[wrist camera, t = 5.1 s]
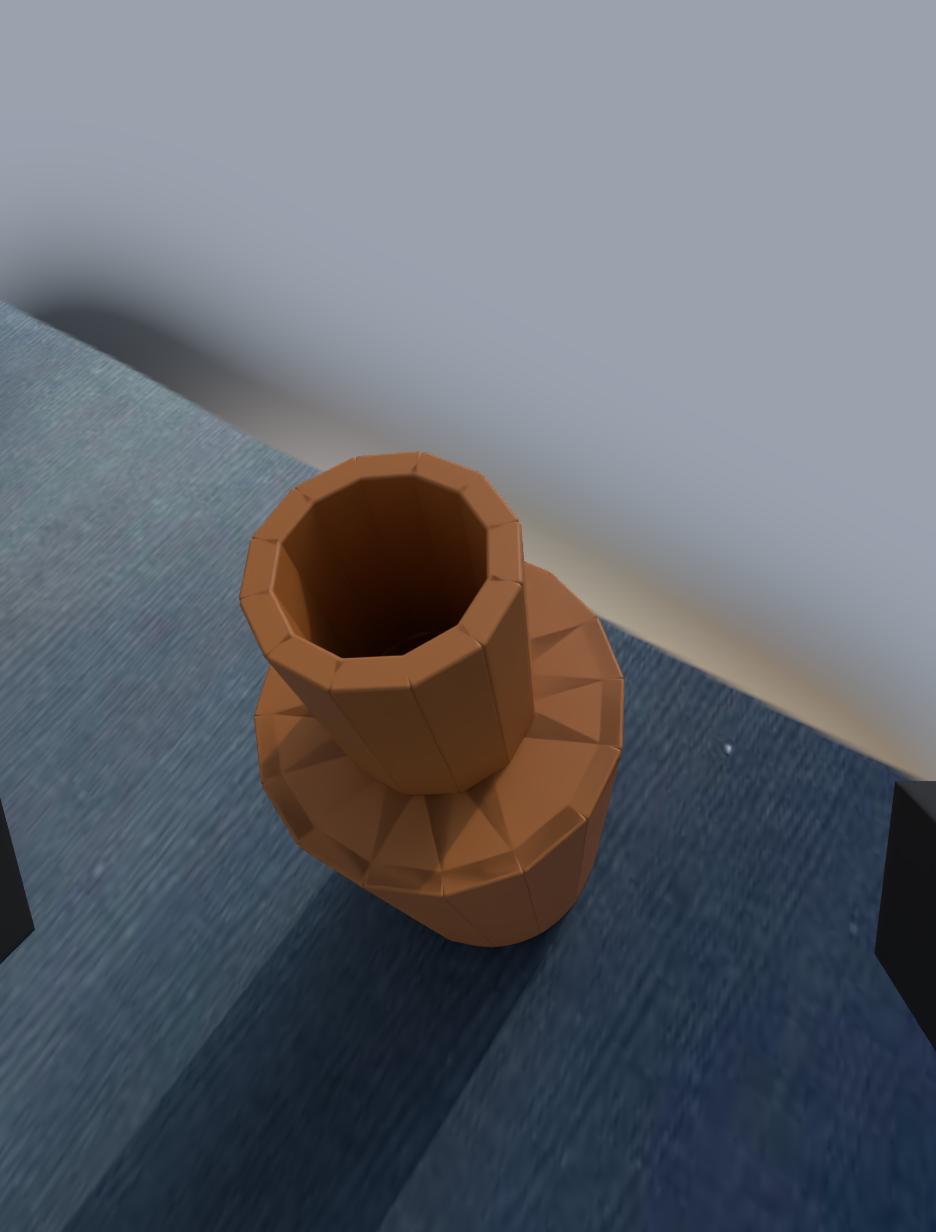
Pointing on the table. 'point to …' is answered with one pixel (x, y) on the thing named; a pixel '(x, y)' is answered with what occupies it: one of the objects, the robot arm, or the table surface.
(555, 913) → the amber bottle
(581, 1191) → the table surface
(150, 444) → the table surface
